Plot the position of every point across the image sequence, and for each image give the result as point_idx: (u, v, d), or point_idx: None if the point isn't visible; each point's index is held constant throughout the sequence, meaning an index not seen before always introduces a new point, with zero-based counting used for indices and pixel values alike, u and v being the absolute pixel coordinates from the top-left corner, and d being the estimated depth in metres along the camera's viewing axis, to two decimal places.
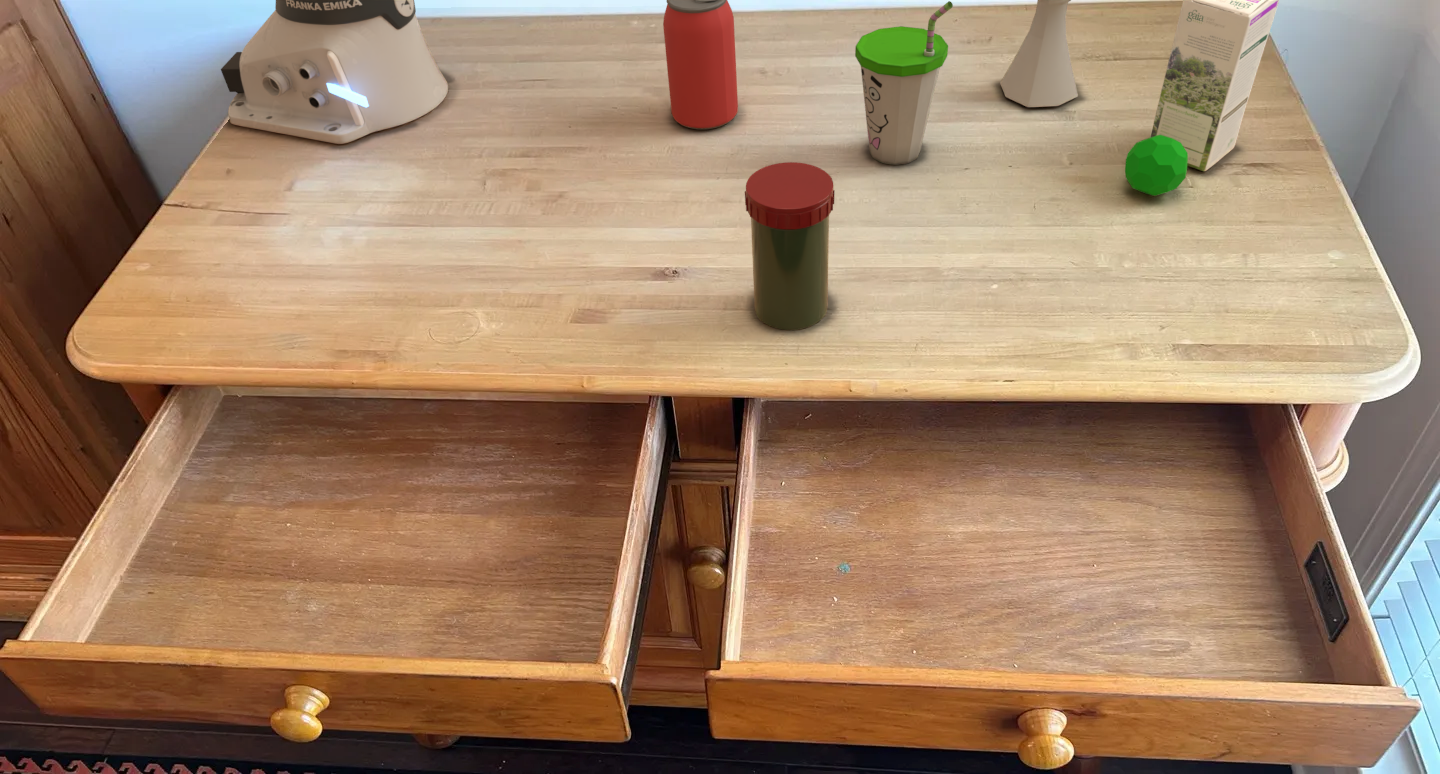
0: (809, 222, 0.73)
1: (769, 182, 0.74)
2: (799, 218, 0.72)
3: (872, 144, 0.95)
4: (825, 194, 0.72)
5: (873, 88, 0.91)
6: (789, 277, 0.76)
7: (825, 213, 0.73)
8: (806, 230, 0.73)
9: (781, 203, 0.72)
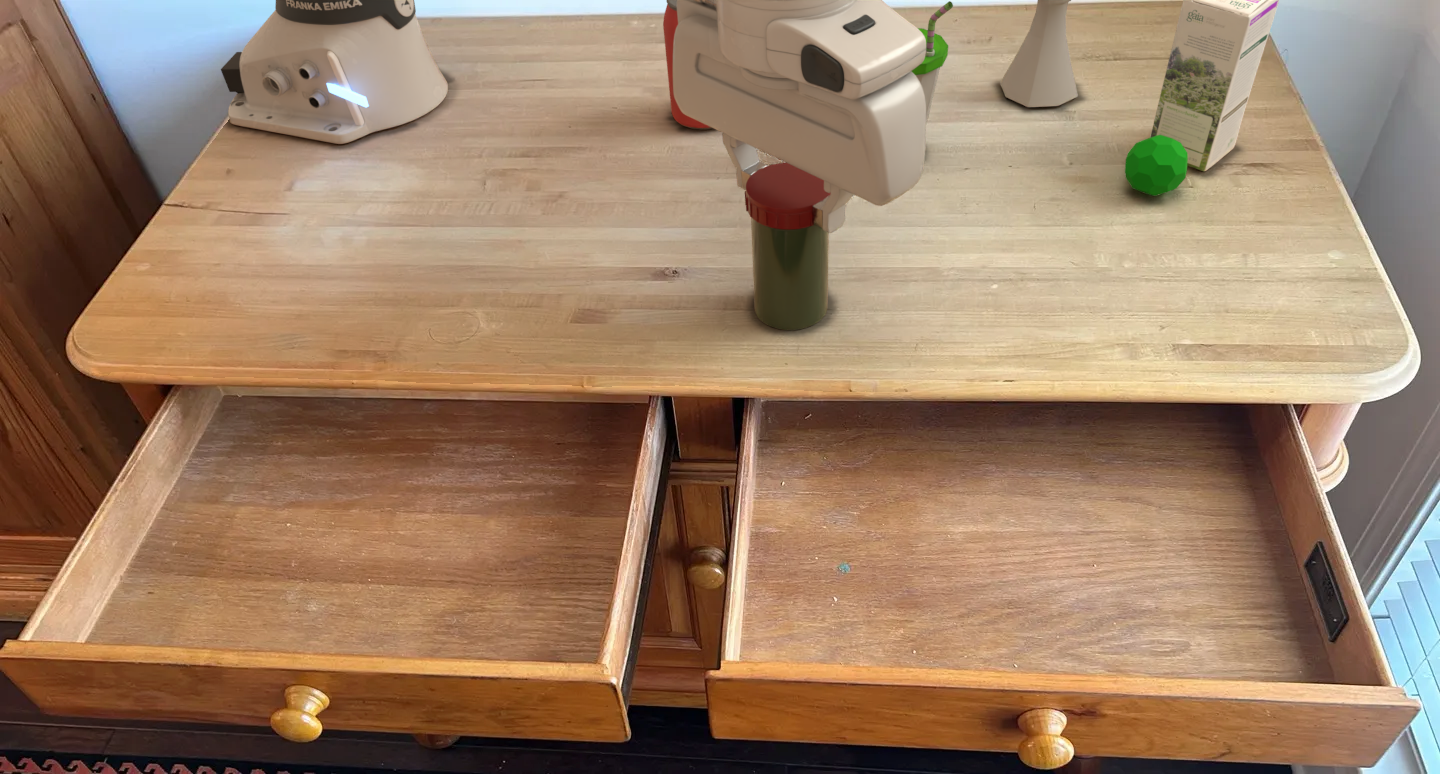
0: (809, 222, 0.73)
1: (769, 182, 0.74)
2: (799, 218, 0.72)
3: None
4: (825, 194, 0.72)
5: None
6: (789, 277, 0.76)
7: None
8: (806, 230, 0.73)
9: (781, 203, 0.72)
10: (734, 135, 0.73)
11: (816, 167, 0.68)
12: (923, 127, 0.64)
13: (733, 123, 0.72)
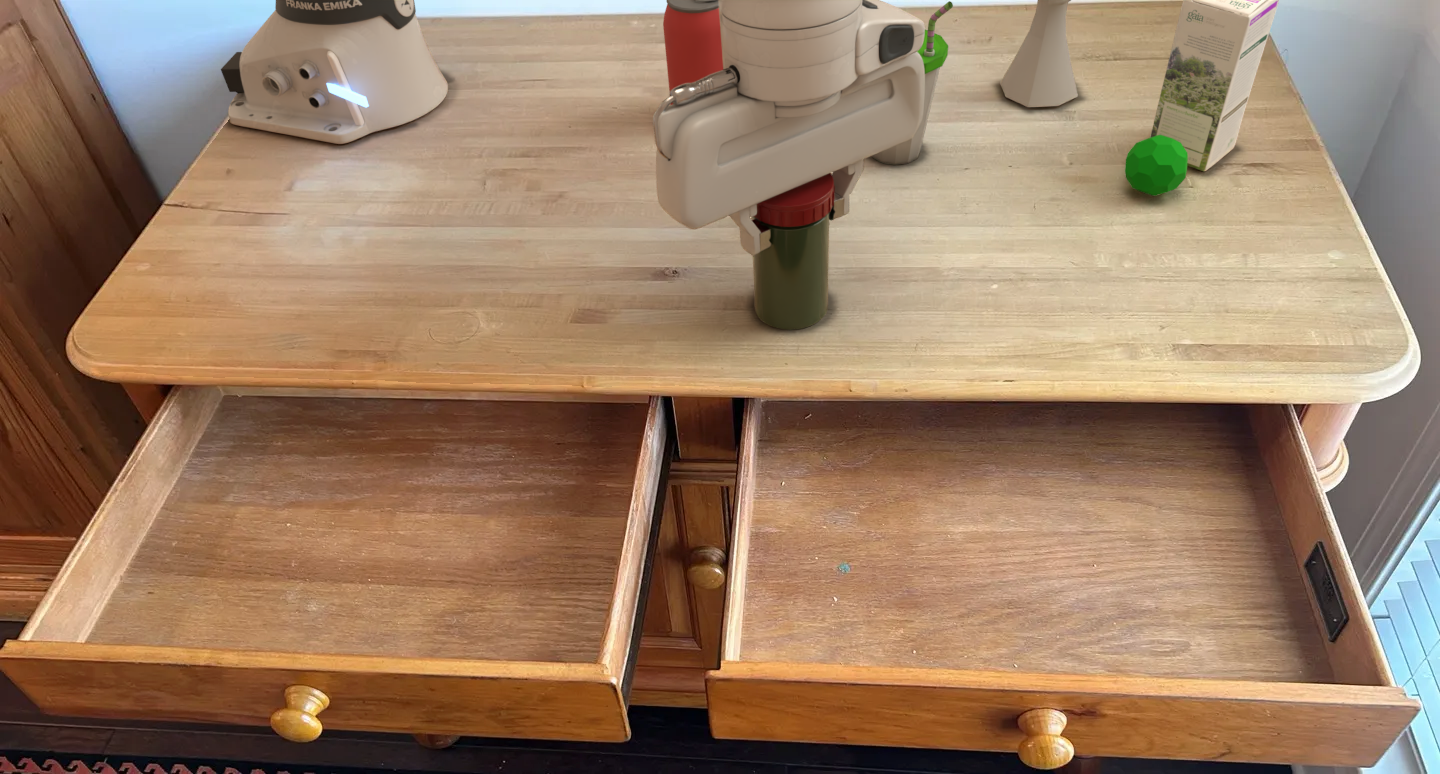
0: None
1: None
2: (833, 190, 0.74)
3: None
4: None
5: None
6: (789, 277, 0.76)
7: None
8: (806, 229, 0.73)
9: (822, 188, 0.73)
10: (767, 196, 0.70)
11: (858, 151, 0.72)
12: None
13: (767, 184, 0.69)
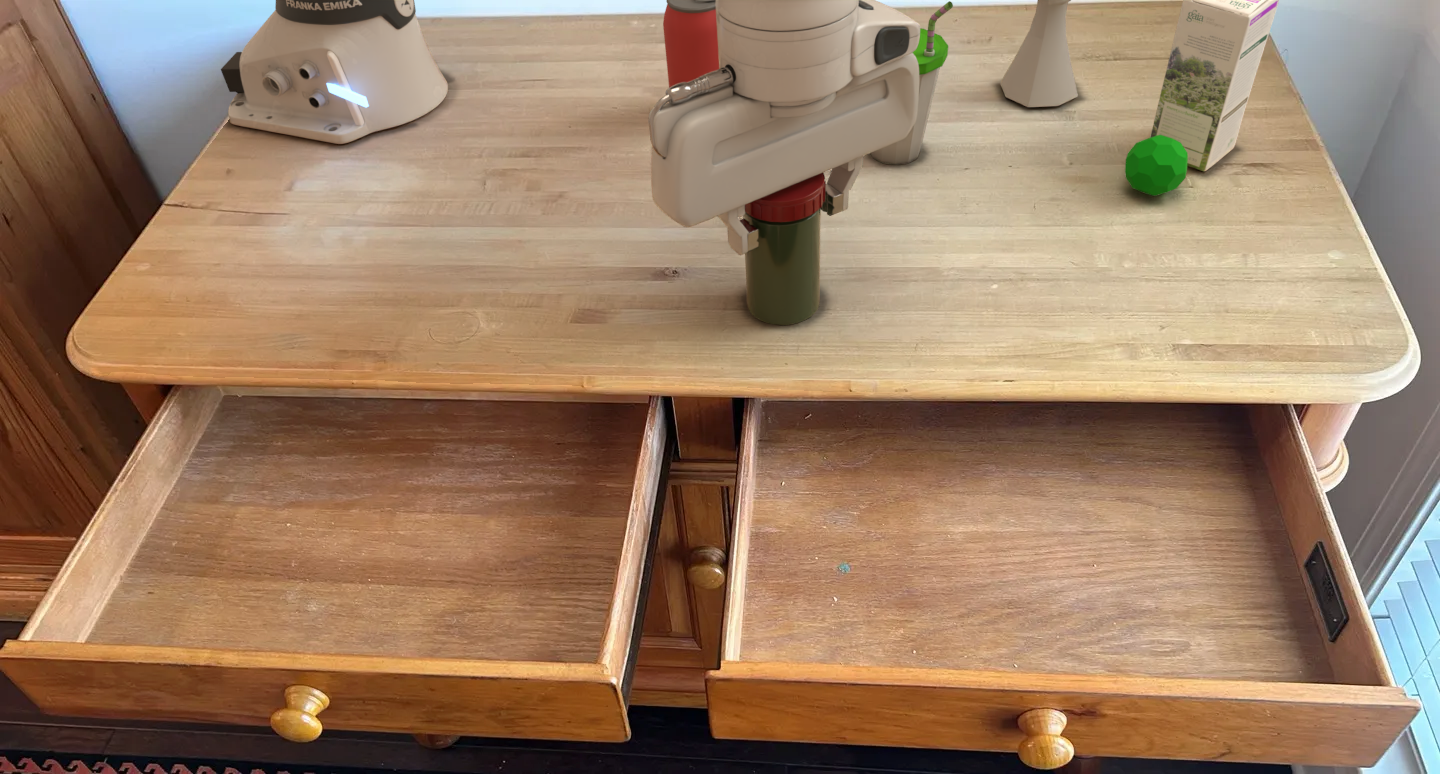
0: None
1: None
2: (824, 185, 0.74)
3: None
4: None
5: None
6: (781, 273, 0.76)
7: None
8: (797, 225, 0.74)
9: (812, 184, 0.73)
10: (761, 195, 0.70)
11: (852, 151, 0.73)
12: None
13: (761, 183, 0.70)
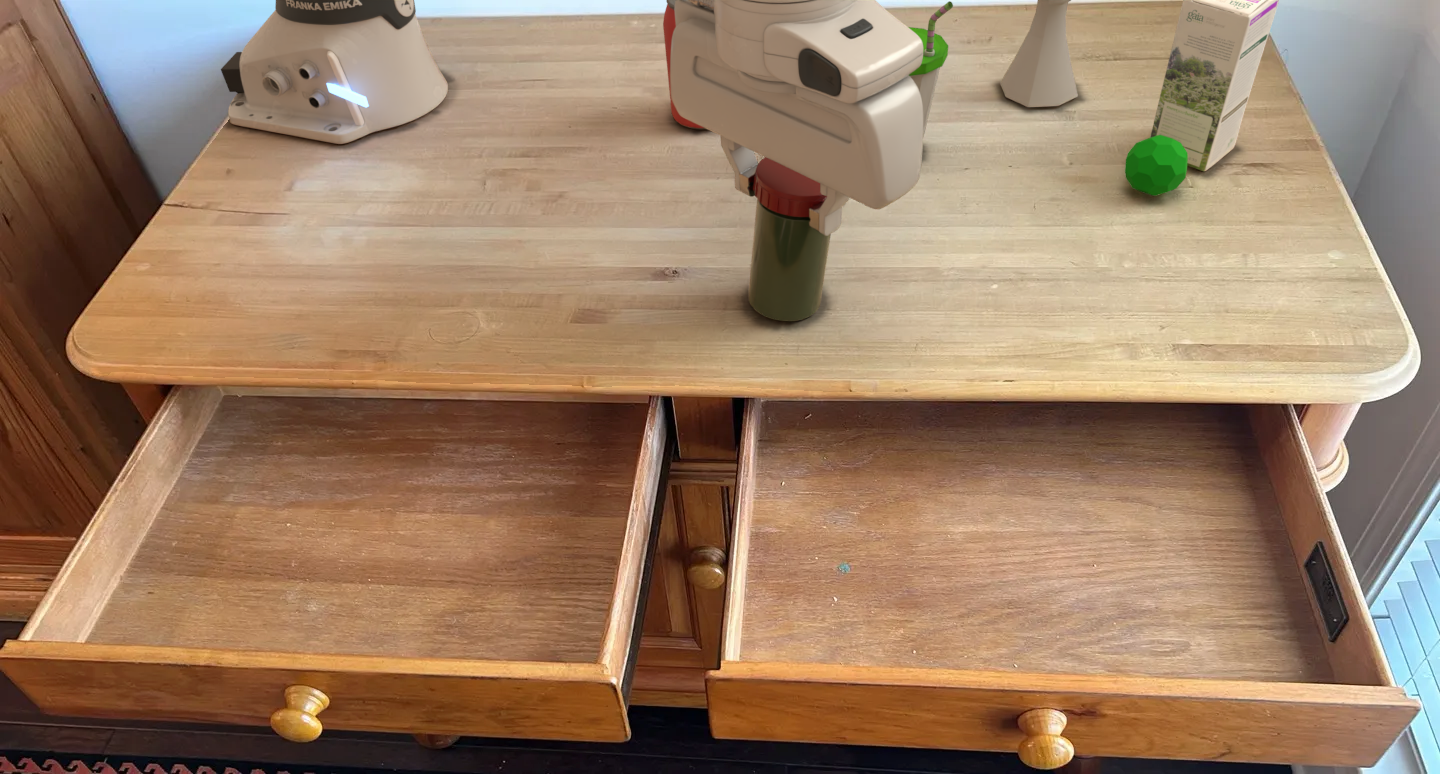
0: None
1: (790, 181, 0.73)
2: None
3: None
4: None
5: None
6: (789, 268, 0.76)
7: None
8: None
9: None
10: (731, 138, 0.73)
11: (813, 170, 0.68)
12: (920, 130, 0.64)
13: (730, 126, 0.72)
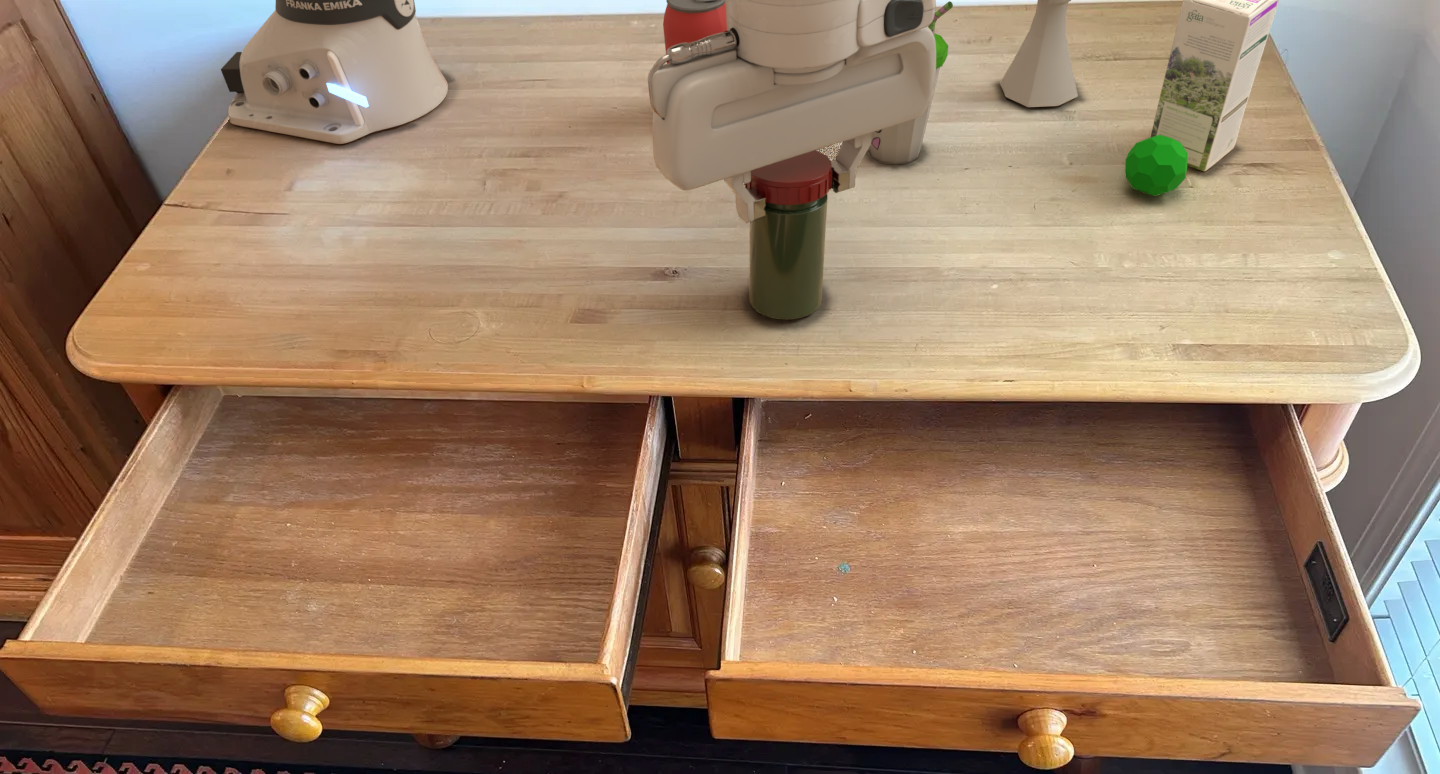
0: None
1: (803, 169, 0.74)
2: None
3: (872, 144, 0.95)
4: None
5: None
6: (786, 264, 0.76)
7: None
8: (805, 215, 0.74)
9: (810, 152, 0.76)
10: (763, 163, 0.70)
11: (862, 125, 0.72)
12: None
13: (763, 151, 0.69)
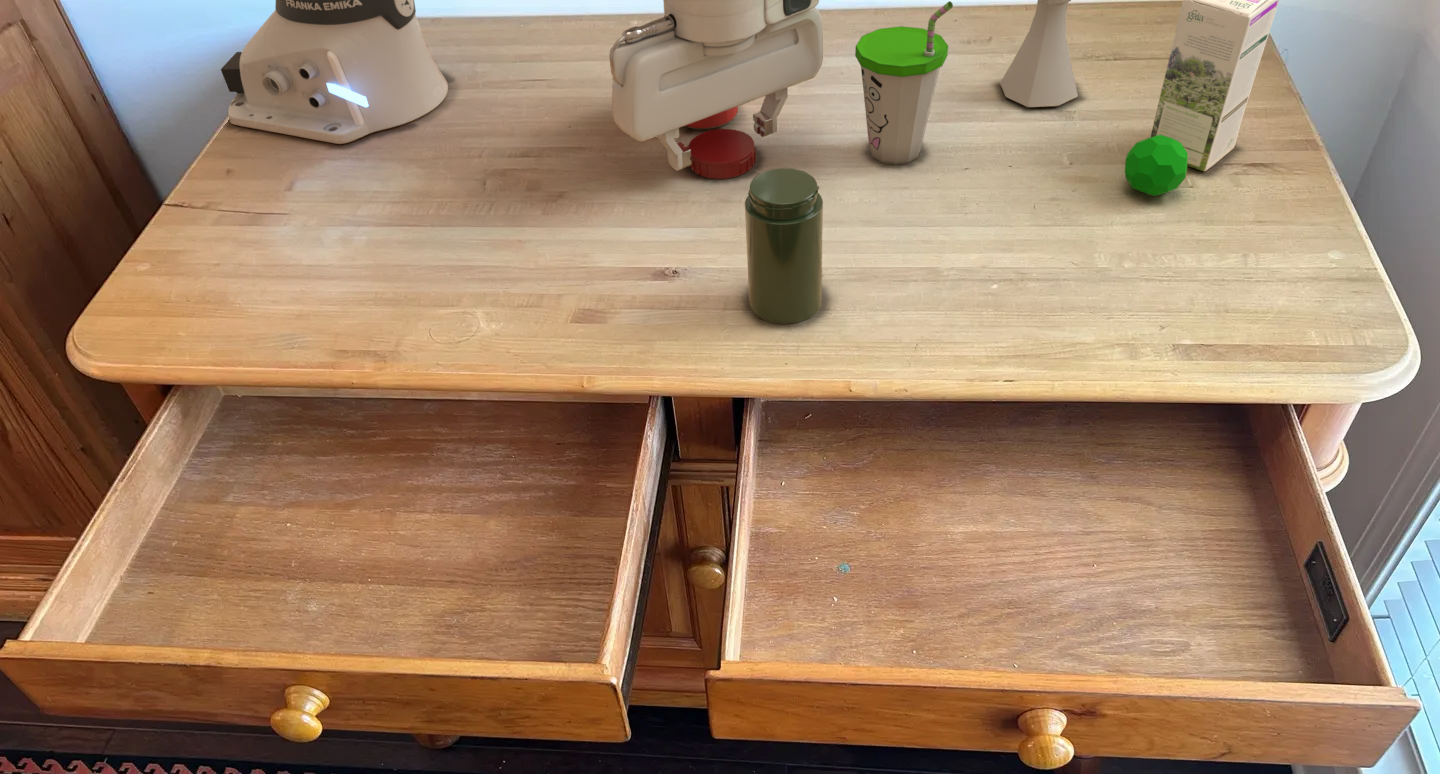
0: None
1: (733, 149, 0.96)
2: None
3: (872, 144, 0.95)
4: (703, 133, 0.98)
5: (873, 88, 0.91)
6: (784, 271, 0.76)
7: None
8: (800, 224, 0.74)
9: (737, 133, 0.98)
10: (698, 118, 0.91)
11: (771, 85, 0.93)
12: None
13: (698, 108, 0.90)
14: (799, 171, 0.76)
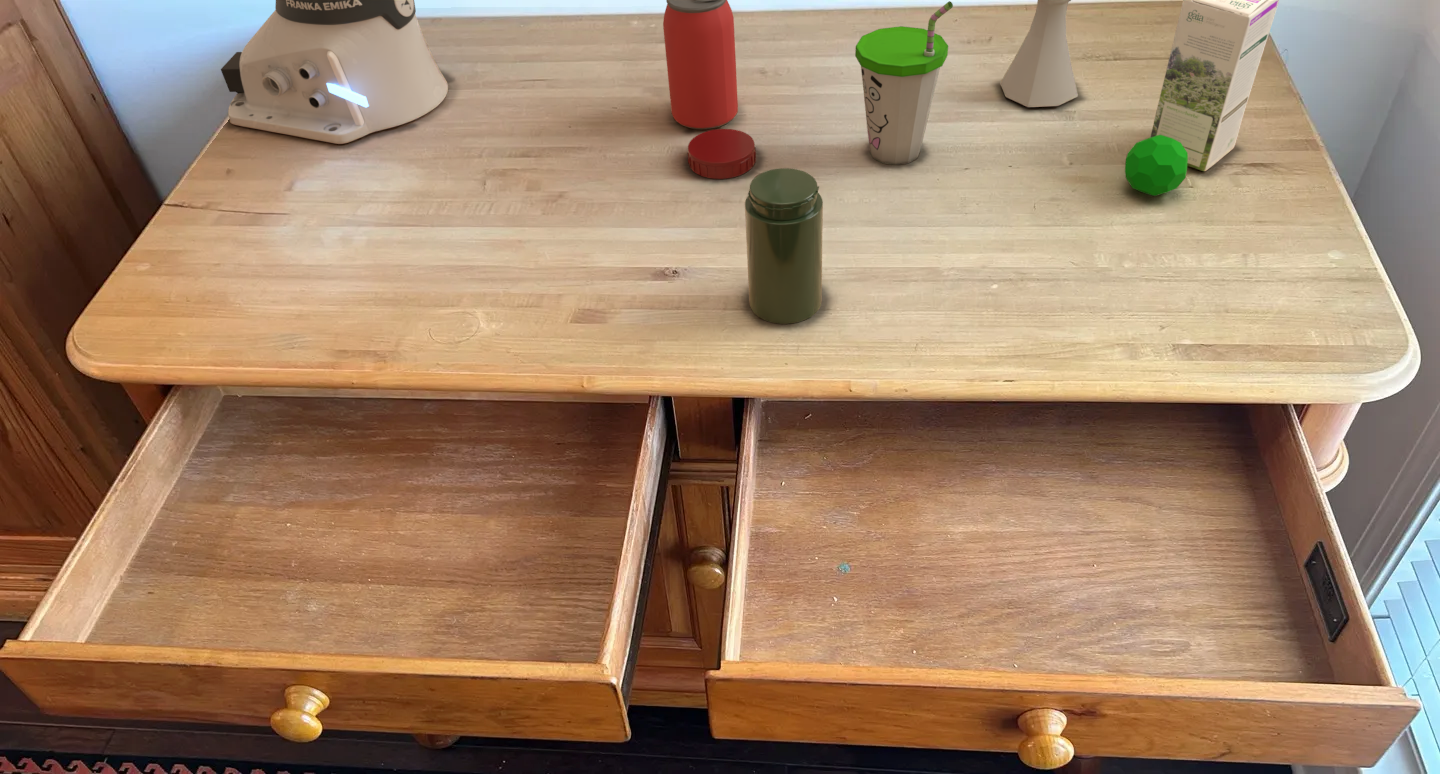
0: None
1: (733, 149, 0.96)
2: None
3: (872, 144, 0.95)
4: (703, 133, 0.98)
5: (873, 88, 0.91)
6: (784, 271, 0.76)
7: None
8: (800, 224, 0.74)
9: (737, 133, 0.98)
10: None
11: None
12: None
13: None
14: (799, 171, 0.76)
